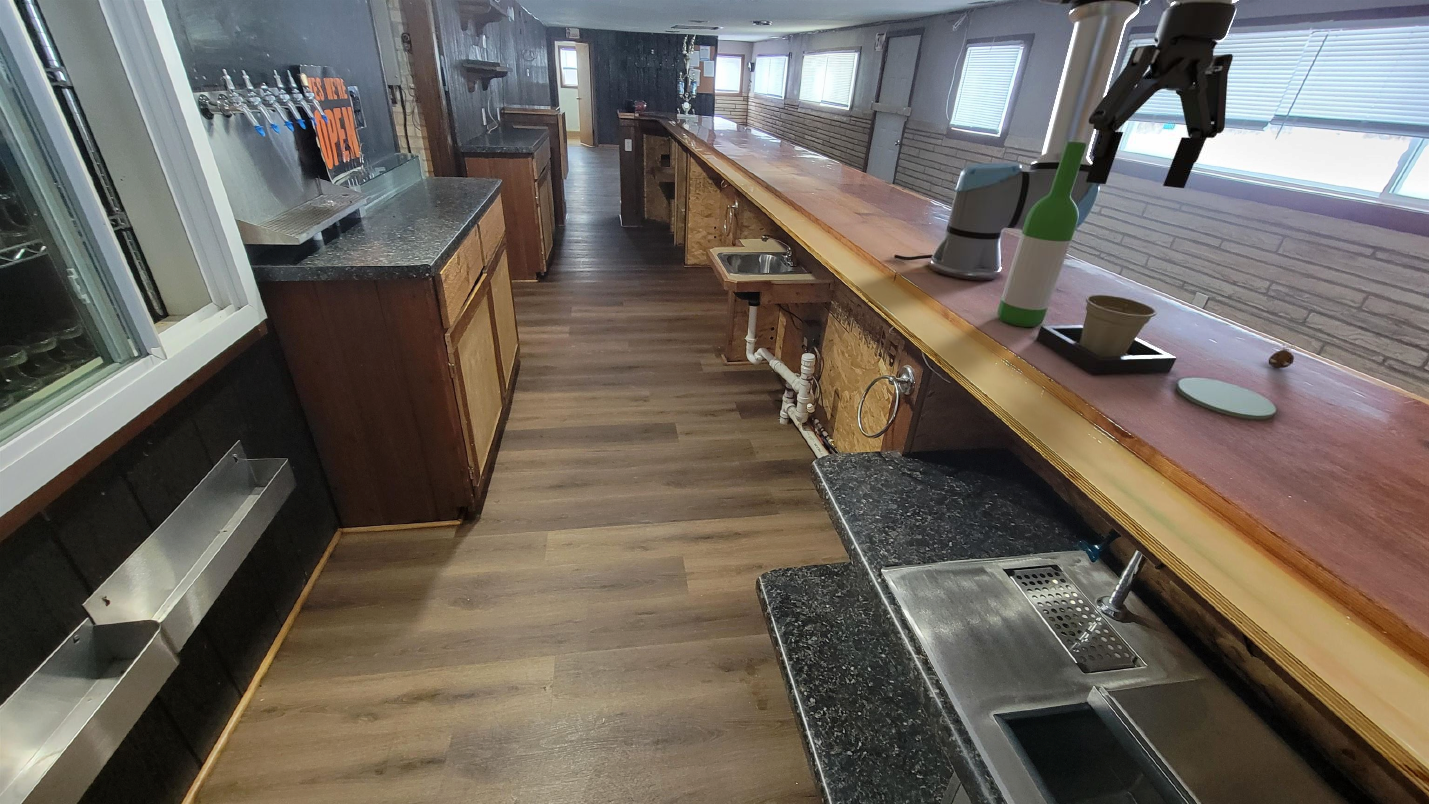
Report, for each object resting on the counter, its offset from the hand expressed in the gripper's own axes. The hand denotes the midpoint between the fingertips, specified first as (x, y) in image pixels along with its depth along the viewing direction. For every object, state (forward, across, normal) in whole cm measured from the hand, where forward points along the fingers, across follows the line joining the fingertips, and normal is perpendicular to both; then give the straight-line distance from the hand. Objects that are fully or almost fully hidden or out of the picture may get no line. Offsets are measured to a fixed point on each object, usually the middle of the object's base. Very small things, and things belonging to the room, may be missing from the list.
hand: (1134, 185), depth 80 cm
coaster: (+26, +10, -16) cm, 33 cm away
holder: (+26, +4, -1) cm, 26 cm away
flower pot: (+26, +4, -1) cm, 26 cm away
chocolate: (+26, +30, -9) cm, 41 cm away
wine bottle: (+25, 0, +14) cm, 29 cm away
